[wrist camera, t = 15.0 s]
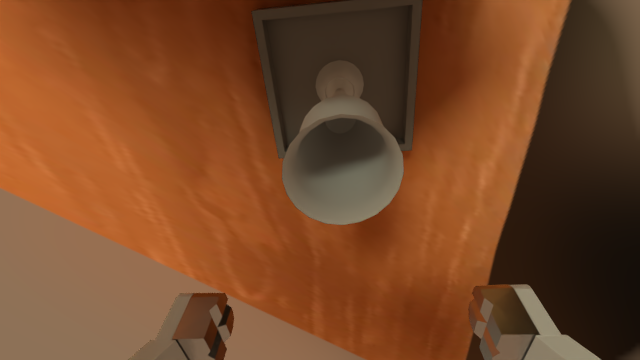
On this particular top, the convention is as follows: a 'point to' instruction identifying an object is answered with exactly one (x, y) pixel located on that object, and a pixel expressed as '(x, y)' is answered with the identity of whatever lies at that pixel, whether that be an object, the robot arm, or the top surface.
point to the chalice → (342, 153)
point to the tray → (340, 44)
